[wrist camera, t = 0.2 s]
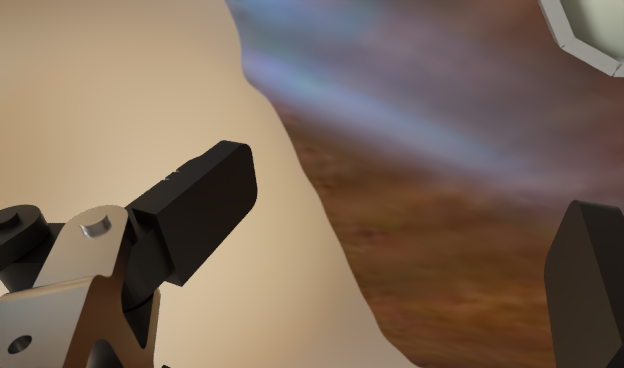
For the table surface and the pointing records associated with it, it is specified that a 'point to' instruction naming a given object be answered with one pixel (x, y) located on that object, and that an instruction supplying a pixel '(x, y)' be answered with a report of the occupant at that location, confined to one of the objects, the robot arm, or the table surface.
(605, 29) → the round tray
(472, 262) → the table surface
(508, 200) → the table surface
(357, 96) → the table surface
